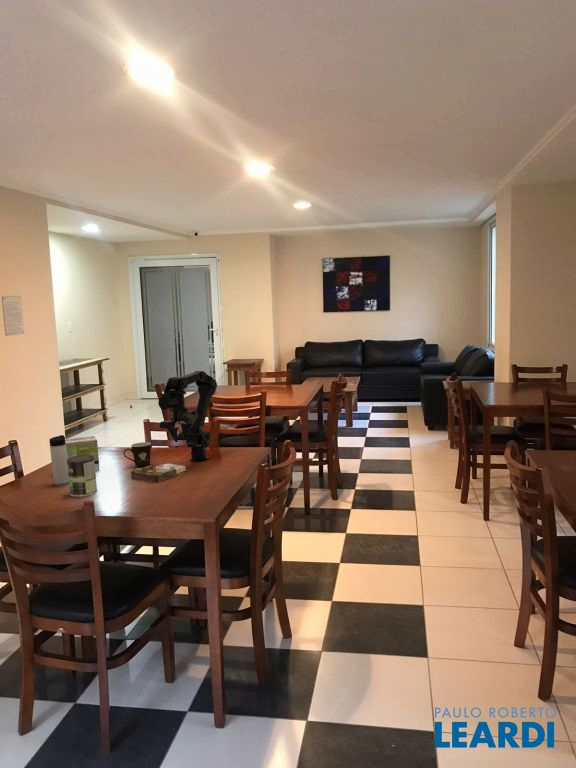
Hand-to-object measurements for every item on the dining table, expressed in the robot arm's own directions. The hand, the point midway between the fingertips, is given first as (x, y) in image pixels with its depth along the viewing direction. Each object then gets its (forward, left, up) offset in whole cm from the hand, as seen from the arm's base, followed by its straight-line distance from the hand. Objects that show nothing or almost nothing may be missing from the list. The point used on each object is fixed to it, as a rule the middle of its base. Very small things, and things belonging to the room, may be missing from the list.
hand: (180, 440), depth 272 cm
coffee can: (+45, -9, -12) cm, 48 cm away
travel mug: (+41, -29, -12) cm, 52 cm away
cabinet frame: (+17, 0, -12) cm, 21 cm away
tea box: (+25, -38, -12) cm, 47 cm away
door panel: (+7, 0, -12) cm, 15 cm away
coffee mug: (+7, -20, -12) cm, 25 cm away
